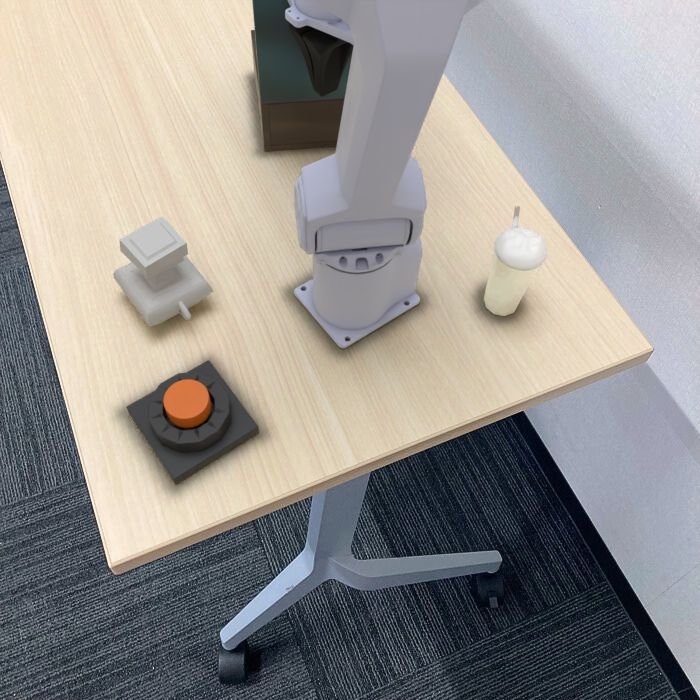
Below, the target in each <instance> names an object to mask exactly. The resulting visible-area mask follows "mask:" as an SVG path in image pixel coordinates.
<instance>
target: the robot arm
mask: <svg viewBox="0 0 700 700" xmlns="http://www.w3.org/2000/svg"><path fill="white" fill-rule="evenodd" d="M287 1H288V3H289V5H290V8H288V9H286V10H285V18H286V20H287V21H289V30H290V31H291V33H292V34H293V36H294V37H295V39H296V41H297V43H298V45H299V47H300V49H301V51H302V54H303V56H304V59H305V62H306V65H307V68H308V72H309V76H310V79H311V83H312V86H313V89H314V91H315V92H317V93H318V94H319V95H320V96H321V97H323V96H325V95H327V94H329V93H331V92H333V91H336V90H337V89H338V86H339V82H340V79H341V76H342V73H343V71H344V68H345V66H346V63H347V61H348V59H349V57H350V55H351V53H352V58H351V64H350V70H349V76H348V82H347V88H346V94H345V100H344V105H343V111H342V117H341V123H340V129H339V135H338V141H337V146H335V152H334V153H333V154H331V155H328V156H326V157H323V158H321V159H318V160H316V161H314V162H311V163H309V164H307V165H305V166H303V167H301V169H300V174H299V176H298V178H297V179H296V180H295V181H294V183H293V200H294V213H295V223H296V231H297V239H298V244H299V247H300V249H301V250H303V251H304V252H305V254H306V255H312V278H311V279H309V280H307V281H306V282H304V283H302V284H300V285H298V286H297V287H295V288H294V290H293V295H294V296H295V297H296V299H297V300H298V301H299V302H300V303H301V305H303V307H304V308H305V309H306V310H307V311H308V312H309V314H310V315H311V316H312V318H314V320H315V321H316V322H317V323H318V324H319V325H320V327H321V328H322V329H323V330H324V331H325V333H326V334H327V335H328V336H329V337H330V338H331V339H332V341H334V343H335V344H336V345H337V346H338V347H339V348H340V349H347V348H348V347H349V346H351V345H353V344H355V343H356V342H358V341H360V340H361V339H363V338H364V337H366V336H367V335H369V334H371V333H373V332H374V331H376V330H377V329H379V328H381V327H382V326H384V325H386V324H388V323H389V322H390V321H392V320H394V319H396V318H397V317H399V316H401V315H402V314H404V313H405V312H407V311H409V310H410V309H412V308H414V307H416V306H417V305H419V303H420V302H421V297H420V296H419V295H418V293H417V292H416V287H417V283H418V279H419V273H420V269H421V263H422V258H423V246H422V241H421V236H422V234H423V229H424V223H425V213H426V209H427V206H428V205H427V203H428V202H427V193H426V185H425V179H424V175H423V170H422V168H421V166H420V164H419V160H418V159H417V158H416V157H413V156H412V153H413V151H414V148H415V145H416V143H417V140H418V139H419V135H420V132H421V130H422V128H423V125H424V123H425V120H426V118H427V115H428V113H429V110H430V108H431V105H432V103H433V100H434V97H435V95H436V93H437V90H438V87H439V86H440V83H441V80H442V78H443V75H444V73H445V70H446V68H447V64H448V62H449V60H450V57H451V54H452V52H453V49H454V45H455V43H456V39H457V37H458V35H459V31H460V28H461V25H462V22H463V19H464V16H465V15H467V14H468V13H469V12H471V11H472V10H474V9H475V8H476V7H477V6H479V5H480V4H481V3H483V2H484V1H485V0H287ZM347 340H348V341H347Z"/></svg>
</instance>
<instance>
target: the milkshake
mask: <svg viewBox="0 0 700 700" xmlns="http://www.w3.org/2000/svg"><path fill="white" fill-rule="evenodd" d="M520 210H521V206H520V205H518V206H514V211H513V219H512V226H511V227H510V228H506V229H504V230H502V231H501V232H500V233H499V234H498V236H497V237H496V239H495V241H494V245H493V252H492V256H491V257H492V258H491V264H490V267H489V271H488V275H487V281H486V286H485V291H484V295H483V302H484V305H485V308H486V309H487V310H488V311H489V312H491V314H492V315H494V316H495V315H496V316H501V317H506V316H508V315H511V314H514V313H515V311H516V310H517V308H518V306H519V304H520V302H521V300H522V298H523V297H524V295H525V294H526V292H527V290H528V287H529V286H530V285H531V283H532V281H533V280H534V279H535V277H536V275H537V273H538V272H539V270H540V269H541V267H542V265H543V264H544V262H545V261H546V259H547V257H548V247H547V243H546V240H545V238H544V237H543V236H542V235H540V234H539V233H537V232H536V231H535V230H533V229H530V228H527V227H518V225H519V219H520Z"/></svg>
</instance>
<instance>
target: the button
mask: <svg viewBox="0 0 700 700" xmlns="http://www.w3.org/2000/svg"><path fill="white" fill-rule="evenodd" d="M163 403H164V407H165V410H166V412H167V415H168V418H169V419H170V421H171V422H172V423H173V424H175V425H176V426H178V427H181V428H193V427H196V426H199V425H201V424H202V423H203V422H205V421H206V419H207V418H208V417H209V415H210V413H211V408H212V406H211V401H210V397H209V393H208V390H207V388H206V387H205V386H204V385H203V384H202V383H200V382H198V381H196V380H191V379H186V380H181V381H178V382H176V383H174V384H173V385H171V386H170V387H169V388H168V390H167V391H166V393H165V395H164V400H163Z"/></svg>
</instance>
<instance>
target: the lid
mask: <svg viewBox="0 0 700 700" xmlns="http://www.w3.org/2000/svg"><path fill="white" fill-rule="evenodd" d="M251 2H252V16H253V28H254V29H253V30H255V41H256V54H257V66H258V79H259V91H260V102H261V103H268V102H283V101H299V100H314V99H329V98H344V97H345V94H346V88H347V82H348V76H349V70H350V64H351V58H352V53H351V55H350V57H349V59H348V61H347V63H346V66H345V68H344V71H343V73H342V76H341V79H340V82H339V86H338V89H337V90H336V91H333V92H331V93H329V94H327V95H325V96H323V97H321V96H320V95H319V94H318V93H317V92H315V91H314V89H313V86H312V83H311V79H310V76H309V72H308V68H307V65H306V62H305V59H304V56H303V54H302V51H301V49H300V47H299V45H298V43H297V41H296V39H295V37H294V36H293V34H292V33H291V31H290V30H289V21H287V20H286V18H285V10H286V9H288V8H290V5H289V3H288V1H287V0H251Z"/></svg>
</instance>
